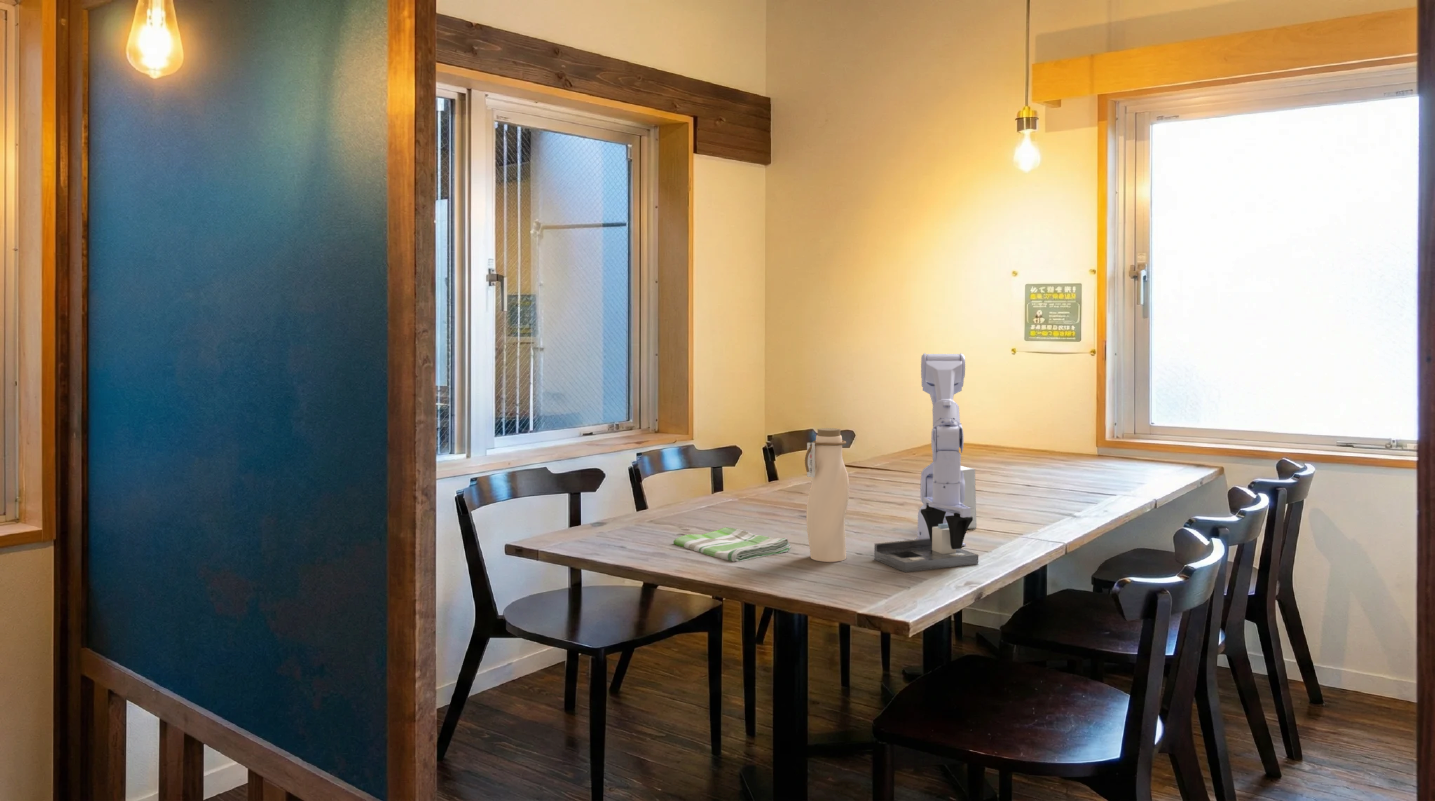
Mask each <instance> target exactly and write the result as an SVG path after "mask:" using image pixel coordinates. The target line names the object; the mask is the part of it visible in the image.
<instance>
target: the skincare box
mask: <svg viewBox="0 0 1435 801" xmlns="http://www.w3.org/2000/svg"><path fill="white" fill-rule="evenodd" d="M961 470H962V471H963V473H964V480H965V501H964V503H963V504H964V505H965V506H967V507H970V508H971V517H973V520H972V522H971V523H970V525H969V527H968V529H973V530H974V529H977V497H976V496H977V495H976V469H975V468H972V467H966V466H963V465H961ZM968 529H967V530H968Z"/></svg>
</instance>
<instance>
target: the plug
mask: <svg viewBox="0 0 1435 801" xmlns="http://www.w3.org/2000/svg"><path fill="white" fill-rule="evenodd" d="M932 550H933V551H936V552H939V553H941V554H947V553H956V549H951V544H950V532H949V527H948V523H945V524H938V526H937V527H932Z"/></svg>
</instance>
